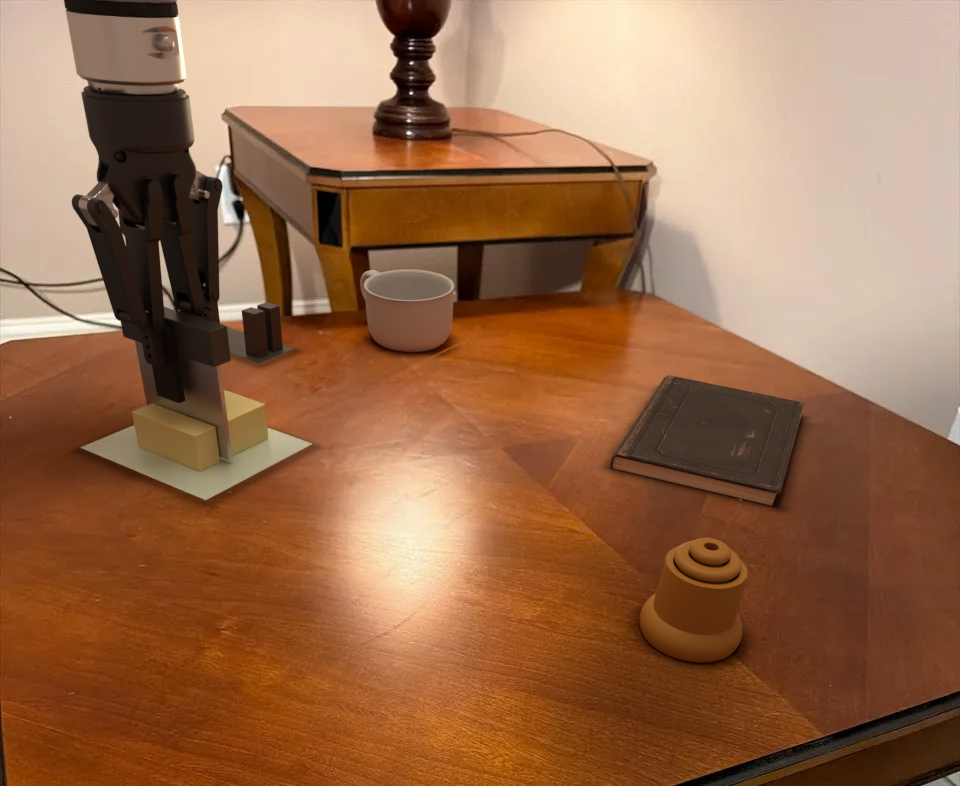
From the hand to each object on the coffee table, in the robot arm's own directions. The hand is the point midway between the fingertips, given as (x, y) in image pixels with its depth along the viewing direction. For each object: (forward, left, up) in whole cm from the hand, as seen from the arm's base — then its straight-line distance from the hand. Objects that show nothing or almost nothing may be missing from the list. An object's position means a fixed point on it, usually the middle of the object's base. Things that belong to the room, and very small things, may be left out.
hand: (182, 392), depth 78 cm
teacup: (-3, +38, -7) cm, 39 cm away
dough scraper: (0, 0, -5) cm, 5 cm away
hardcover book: (+39, +35, -7) cm, 53 cm away
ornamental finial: (+49, +2, -7) cm, 49 cm away
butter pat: (0, -2, -5) cm, 6 cm away
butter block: (0, +4, -5) cm, 7 cm away
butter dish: (0, +1, -6) cm, 7 cm away
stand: (-17, +23, -6) cm, 29 cm away
